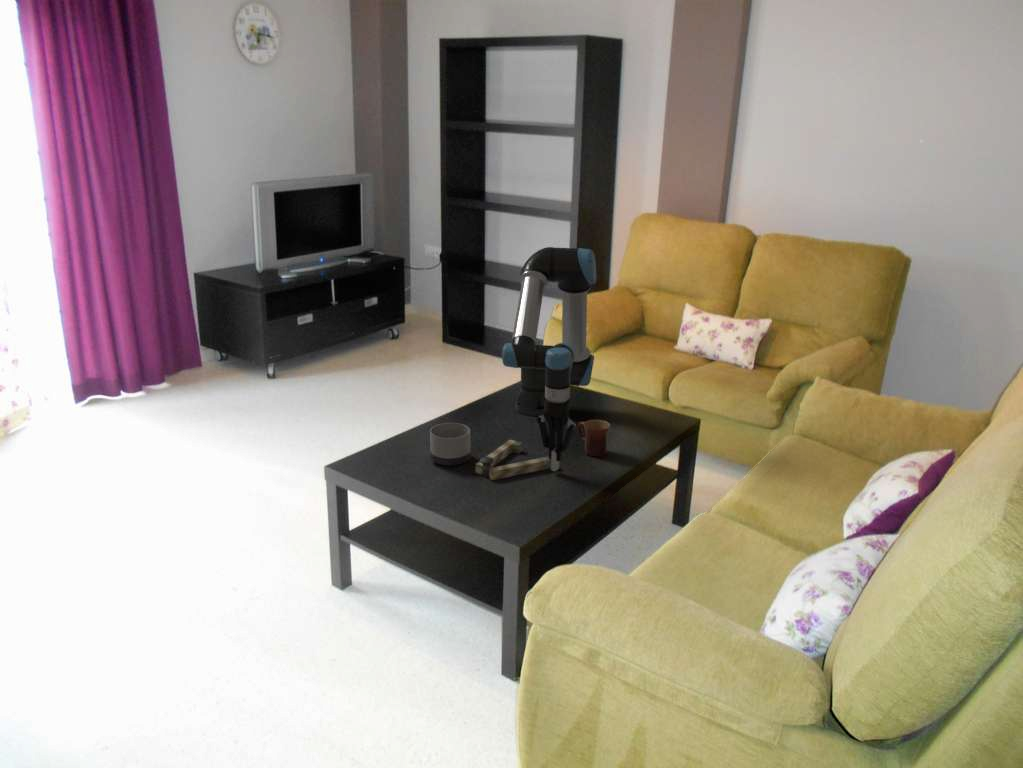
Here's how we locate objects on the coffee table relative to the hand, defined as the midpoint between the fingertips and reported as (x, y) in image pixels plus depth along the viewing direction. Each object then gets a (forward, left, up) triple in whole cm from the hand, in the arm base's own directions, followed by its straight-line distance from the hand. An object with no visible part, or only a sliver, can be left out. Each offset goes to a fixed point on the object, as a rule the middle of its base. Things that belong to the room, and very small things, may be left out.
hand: (555, 469), depth 261 cm
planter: (+8, -34, -2) cm, 35 cm away
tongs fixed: (+2, -19, -2) cm, 19 cm away
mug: (-21, +3, -2) cm, 21 cm away
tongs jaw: (+5, -9, -1) cm, 10 cm away
